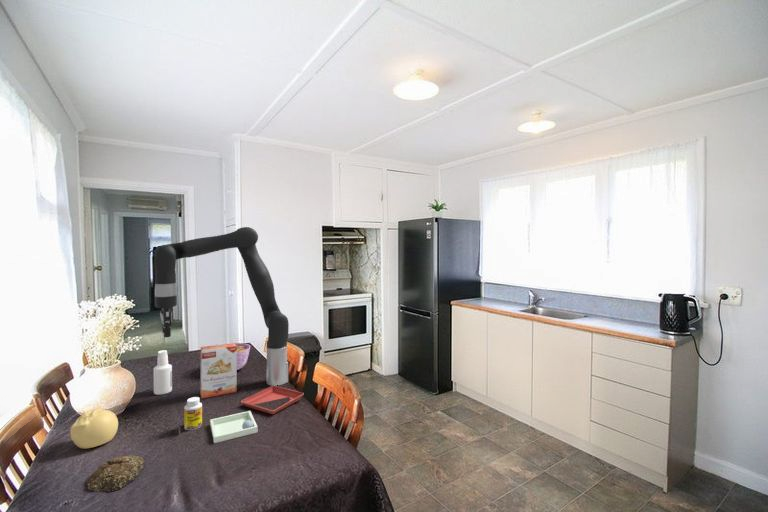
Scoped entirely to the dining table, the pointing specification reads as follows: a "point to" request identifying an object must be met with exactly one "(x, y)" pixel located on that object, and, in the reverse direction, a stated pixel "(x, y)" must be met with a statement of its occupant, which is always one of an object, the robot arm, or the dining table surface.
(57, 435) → the dining table surface
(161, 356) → the spray bottle
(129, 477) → the mottled brown rock
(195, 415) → the supplement bottle
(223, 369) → the cracker box
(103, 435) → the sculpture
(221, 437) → the tray
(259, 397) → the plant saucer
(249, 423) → the ball
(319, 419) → the dining table surface
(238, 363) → the bowl of food
